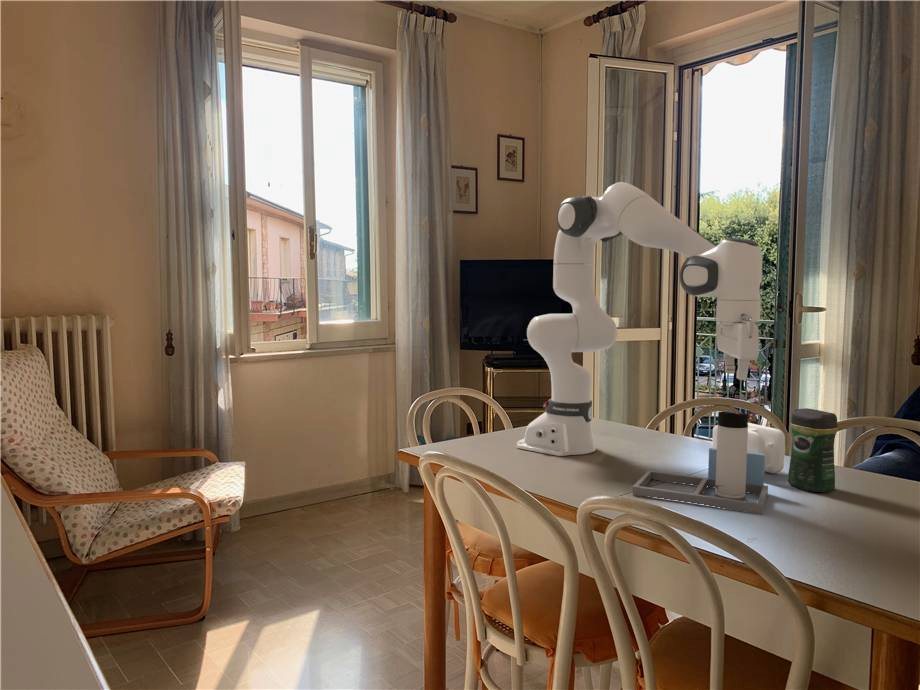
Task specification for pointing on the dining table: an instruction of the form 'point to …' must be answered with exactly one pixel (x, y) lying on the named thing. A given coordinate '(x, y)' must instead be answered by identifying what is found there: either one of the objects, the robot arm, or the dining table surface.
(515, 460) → the dining table surface
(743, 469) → the travel mug
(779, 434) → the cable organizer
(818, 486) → the coffee jar
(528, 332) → the robot arm
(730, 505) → the rack
